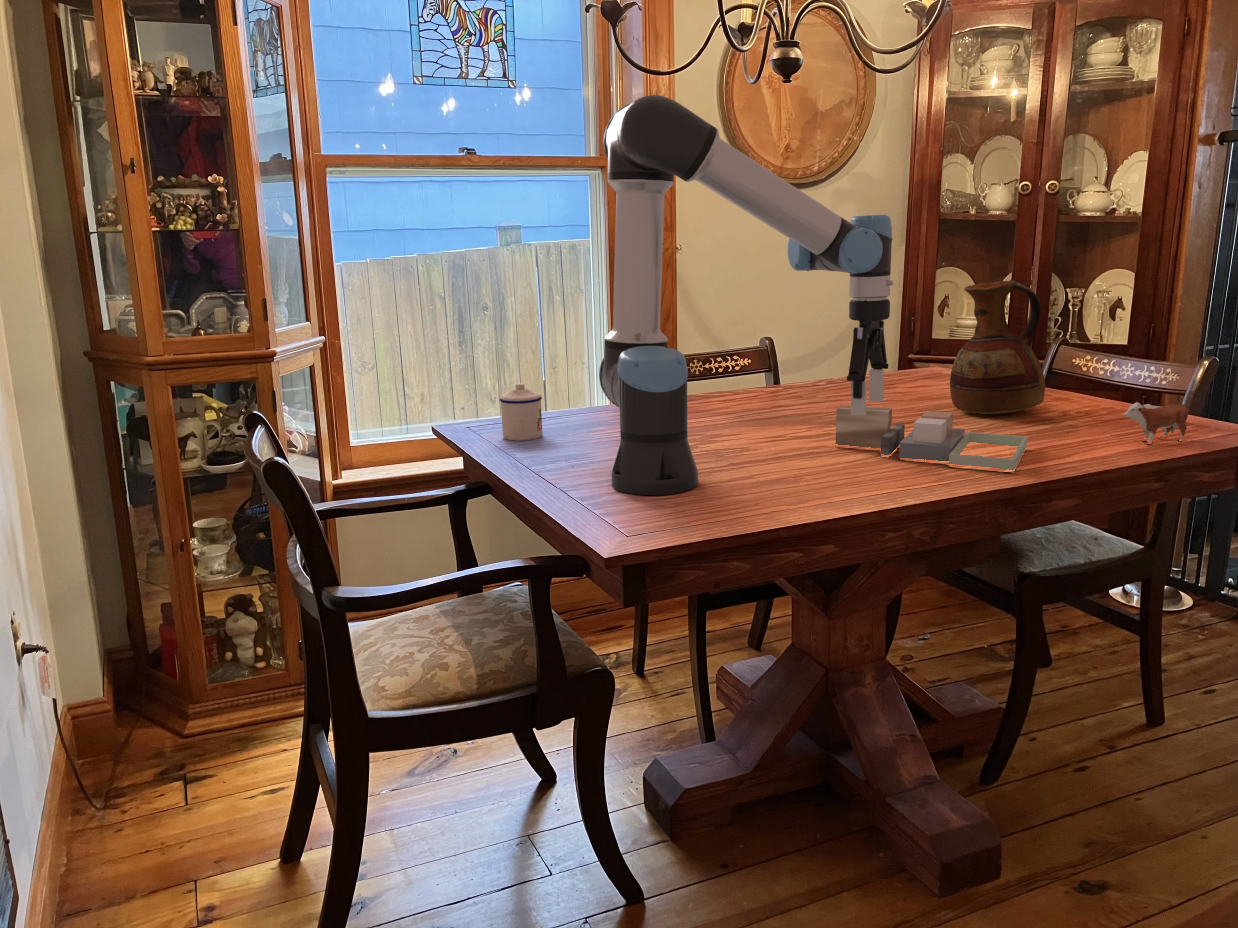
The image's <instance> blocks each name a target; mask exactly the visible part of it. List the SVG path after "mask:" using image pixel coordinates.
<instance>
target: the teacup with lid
mask: <svg viewBox="0 0 1238 928" xmlns="http://www.w3.org/2000/svg"><path fill="white" fill-rule="evenodd" d="M542 397H543V396H542V395H541V393H540V392H536V391H533V390H531V389H530V388H526V386H525V383H523V382H522V383H521V382H520V383H516V384H515V387H514V388H513V389H510V390H509V391H508V392H506V393H503V394H502V395H501V396H499V401H500V408H501V409H500V410H501V425H502V427H501V428H502V438H503V439H505V440H507V441H513V440H514V441H517V442H521V441H523V442H524V441H531V440H536V439H540V438H541V437H542V436H543V418H542V416H543V415H542V413H543V412H542V399H543V398H542Z"/></svg>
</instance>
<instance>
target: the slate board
mask: <svg viewBox="0 0 1238 928" xmlns="http://www.w3.org/2000/svg"><path fill="white" fill-rule="evenodd" d="M965 431H966V429H964V428H955V427H953V428H952V431H951V433H950V434H949V435H948V436H946V438H945V439H944V440H943V442H942V443H930V442H917V441H913V433H914V429H912V430H911V432H909V433H908V434H907V435H906V436H904V439H903V440H902V441H901V442H900V448H899V449H898V450H899V452H898V454H899V455H898V459H899V458H910V459H911V458H912V459H924V460H925V459H926V460H938V461H949V454H950V453H951V452H952V450H953V449H954V448H955V447H956V445H957V444H958V443H959V442H960V440H961V439H962V438H963V437H964V436H965V434H966V433H965Z"/></svg>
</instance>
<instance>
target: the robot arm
mask: <svg viewBox="0 0 1238 928" xmlns="http://www.w3.org/2000/svg"><path fill="white" fill-rule="evenodd" d="M603 150H604V153H605V156H606V159H607V183H608V185H609V186H610V187H611V188H612V189H613V190H614V192H615V193H616V194H615V222H614V223H615V224H614V225H615V227H614V228H615V231H614V232H615V233H614V272H613V273H614V274H613V275H614V277H613V310H612V311H613V315H612V316H613V318H612V321H613V323H612V329H611V330H610V331H609V333H607V335H605V336H604V345H603V346H604V348H603V349H604V350H603V358H602V360H601V362H600V365H599V371H598V378H599V384H600V388H601V390H602V392H603V394H604V395H605V397H606V398H607V400H609V401H610V402H611V403H612V405H615V406H616V407H617V408H619V426H620V427H619V429H620V432H619V433H620V434H619V435H620V443H619V446H618V450H617V453H616V456H615V460H614V464H613V467H612V470H611V486H612V488H613V489H615V490H616V491H619V492H623V493H626V494H631V495H632V494H633V495H639V496H640V495H641V496H663V495H673V494H679V493H683V492H687V491H690V490H692V489H694V488H696V487H697V486H698V485H699V471H698V468H697V467H698V466H697V464H696V460H695V458H694V456H693V455H694V454H693V453H692V450H691V447H690V444H689V440H688V439H689V437H688V377H689V369H688V367H687V365H688V364H687V359H686V357H685V355H684V354H683V353H682V352H681V351H679V350H678V349H675V348H672V347H669V346H668V344H669V343H668V341H669V340H668V338H667V336H666V335H665V334H664V333H663V332H662V330H661V306H662V305H661V303H662V282H663V280H662V279H663V278H662V277H663V274H662V273H663V253H664V252H663V249H664V222H665V221H664V220H665V219H664V218H665V194H666V193H667V192H668V191H669V189H671V187H672V186H674V183H675V182H674V178H675V177H678V178H679V179H681V180H683V181H684V182H686V183H689V182H690V183H691V182H693V181H696V182H698V183H699V184H701V185H703V186H704V187H706V188H707V189H709V190H710V191H712V192H714V193H716V194H717V195H719V196H721V197H722V198H723V199H725V200H727V201H729V202H730V203H732V204H733V205H735V206H736V207H738V208H740V209H742V210H743V211H745V212H746V213H748V214H750V215H752V217H754V218H756V219H758V220H759V221H761V222H763V224H766V226H769V227H770V228H772V229H774V230H775V231H776V232H778V233H780V234H782V235H784V237H787V238H788V242H787V257H788V259H787V260H788V263H789V264H790V266H791V268H792V269H793V270H794V271H797V272H799V271H800V272H801V271H802V272H804V271H806V272H810V271H827V272H840V273H848V274H849V285H848V286H849V289H848V291H849V293H848V295H849V297H850V298H851V299H850V301H849V305H848V309H849V310H848V313H849V314H848V318H849V319H850V320H852V321H858V322H859V323H858V327H853V330H852V332H853V334H852V336H853V339H852V346H851V353H850V361H849V366H848V368H849V369H848V374H847V376H846V381H847V382H851V384H850V385H851V386H850V389H851V390H850V391H851V392H850V402H851V403H850V406H851V415H866V407H867V392H868V402H869V403H870V402H872V403H874V402H875V403H883V402H884V385H885V384H884V383H885V381H884V380H885V375H884V374H885V370H888V369H889V363H888V360H887V359H888V358H887V350H886V339H885V326H884V325H885V320H888V319H889V318H890V316H891V300H890V299H889V298H887V297H889V296H890V295H891V286H893V285H894V280H891V271H892V270H891V267H892V241H893V229H892V228H893V227H892V219H891V217H890V216H889V215H887V214H871V215H869V214H867V215H853V216H852V217H851V219H850V221H848V220H847V219H844V217H841V216H840V215H838V214H837V213H835V212H834V211H832V210H831V209H829V208H828V207H827V206H825V205H823V204H822V203H820V202H819V201H817V200H815V199H814V198H812V197H811V196H810V195H808V194H806V193H804V192H803V191H802V190H800V189H798V188H797V187H796V186H794V185H792V184H791V183H790V182H788V181H786V180H785V179H783V178H782V177H780V176H779V175H777V174H776V173H774V172H772V171H771V170H769V168H767V167H764V166H763V165H762V164H760V163H759V162H757V161H755V160H754V159H752V158H751V157H749V155H746V154H745V153H744V152H742V151H740V150H738V149H737V148H736V147H733V146H732V145H730V143H728V142H726V141H724V139H722V138H721V137H720V132H719V129H718V128H716V127H715V126H713V125H712V124H710V123H709V122H708V121H706V120H704V118H702V117H700V116H699V115H698V114H696V113H694V112H693V111H691V109H688V108H687V107H685V106H684V105H682V104H681V103H679V102H678V101H675V100H674V99H671V98H670V97H668V96H663V95H658V94H650V95H644V96H642V97H639V98H638V99H637V98H636V100H634V101H633V102H631V103H628V104H626V105H624V106H622V107H621V108H619V109H618V110H617V111H615V113H614V114H613V115H612V117H611V118H610V119H609V121H608V123H607V125H606V127H605V131H604V134H603ZM869 363H870V368H871V369H869V373H868V375H869V377H868V378H869V379H868V380H869V381H868V380H866V377H867V371H868V367H869ZM867 381H868V383H867ZM867 384H868V386H867ZM867 387H868V389H867ZM867 390H868V391H867Z"/></svg>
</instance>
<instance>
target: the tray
mask: <svg viewBox="0 0 1238 928" xmlns="http://www.w3.org/2000/svg"><path fill="white" fill-rule="evenodd" d="M969 442H977V443H988V444H998V445H1009V446H1018V448H1017V450H1016V452H1015V454H1014V455H1013V457H1012V459H1007V458H995V457H983V456H971V455H960V453H961V452H962V451H963V449H964V448H965V447H966V445H967V444H968V443H969ZM1027 445H1028V436H1025V435H1024V436H1023V435H1012V434H1008V435H1007V434H1000V433H999V434H998V433H986V432H985V433H984V432H971V431H969V432H968V431H967V432H966V433H965V434H964V437H963V438H962V439H961V440H960V442H959V443H958V444H957V445H956V447H955V448H954V449H953V450H952V452H951V453H950V454H949V464H955V465H956V464H957V465H971V466H981V467H991V468H999V469H1009V470H1014V469H1015V467H1016V465H1017V464H1018V462H1019V460H1020V458H1021V456H1022V454H1023V452H1024V450H1025V448H1026V446H1027ZM1026 449H1027V448H1026Z"/></svg>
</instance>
